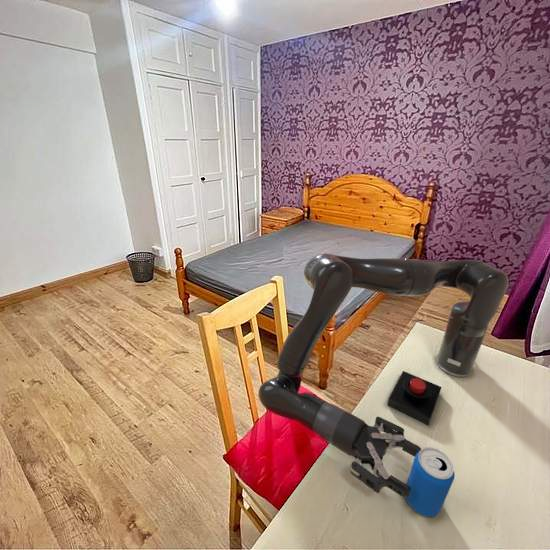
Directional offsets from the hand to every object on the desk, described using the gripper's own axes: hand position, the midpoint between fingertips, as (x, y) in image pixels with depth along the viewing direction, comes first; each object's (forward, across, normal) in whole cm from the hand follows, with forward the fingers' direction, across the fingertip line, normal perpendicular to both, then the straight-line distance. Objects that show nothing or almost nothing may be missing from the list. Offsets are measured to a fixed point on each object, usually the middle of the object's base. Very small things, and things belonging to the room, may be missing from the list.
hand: (416, 473), depth 58 cm
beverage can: (+2, 0, +7) cm, 7 cm away
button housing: (-6, +24, +6) cm, 25 cm away
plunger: (-6, +24, +2) cm, 25 cm away
